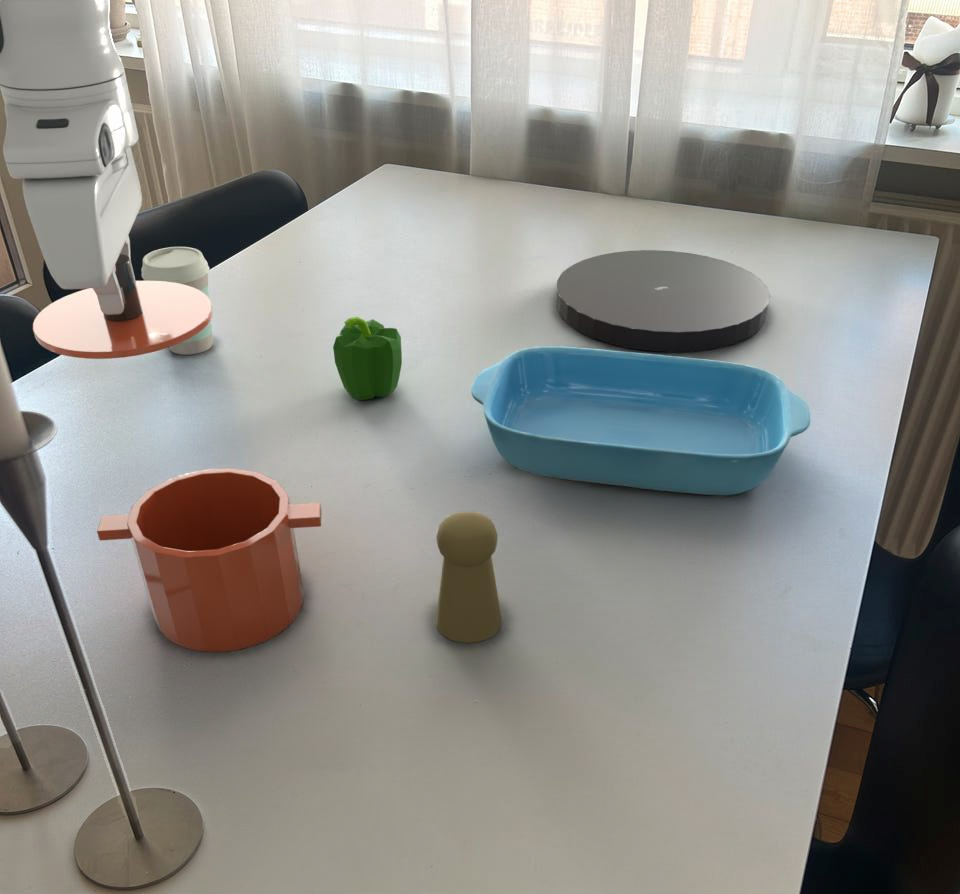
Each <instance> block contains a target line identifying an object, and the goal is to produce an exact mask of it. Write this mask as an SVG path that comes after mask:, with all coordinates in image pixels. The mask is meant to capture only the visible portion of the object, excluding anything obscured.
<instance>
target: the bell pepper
mask: <svg viewBox="0 0 960 894" xmlns="http://www.w3.org/2000/svg"><path fill="white" fill-rule="evenodd" d="M332 349H333V357H334V363H335V366H336V370H337V373H338V375H339V378H340V380H341V383H342V386H343V388H344V390H345V391H346V392H347V394H349V395H350V396H351V397H352V398H353V399H356V400H359V401H365V400H366V401H367V400H371V399H373V398H374V397H380V398H382V397H388V396H390V395H391V394H392V393H394V391H396V389H397V387H398V384H399V379H400V377H401V369H402V363H403V355H402V354H403V353H402V352H403V351H402V336H401V334H400V333H399V331H398V329H397V328H395V327H385V326H384V324H382V323H381V322H379V321H377V320H375V319H373V318H372V319H369V320H367V321H366V320H365V319H363V318H361V317H358V316H354V317H349V318H348V319H347V320H345V321H344V325H343V327H342V329H341V330H340V332H339V334H338V335H336V337H335V340H334V343H333V347H332Z"/></svg>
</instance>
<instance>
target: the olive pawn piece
mask: <svg viewBox="0 0 960 894" xmlns="http://www.w3.org/2000/svg"><path fill="white" fill-rule="evenodd" d="M498 536H499V535H498V531H497V527H496V525H495V524H494V522H493V521H492V519H490V518H489V517H488V516H487V515H485V514H483V513H481V512H476V511H471V510H470V511H467V510H465V511H458V512H454V513H452V514H450V515H448V516H446V517H445V518H444V519H443V520H442V521H441V522H440V524H439V526H438V529H437V534H436V544H437V547H438V551H439V553H440V554H441V556H442V557H443V559H442V566H441V567H442V568H441V574H440V585H439V590H438V600H437V609H436V616H435V625H436V629H437V631H438V632H440V634H441V635H442V636H444V637H445V638H447V639H448V640H451V641H454V642H456V643H463V644H464V643H465V644H471V643H472V644H473V643H480V642H483V641H485V640H489V639H490V638H492V637H493V636H494V635H496V634H498V632H499V630H500V629H501V627H502V621H503V620H502V619H503V618H502V614H501V613H502V612H501V606H500V601H499V593H498V589H497V582H496V575H495V570H494V563H493V562H494V561H493V558H492V557H493V555H494V553H495V552H496V549H497V546H498V538H499V537H498Z"/></svg>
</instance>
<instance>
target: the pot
mask: <svg viewBox="0 0 960 894" xmlns="http://www.w3.org/2000/svg"><path fill="white" fill-rule="evenodd" d="M321 504H322V503H321V502H306V503H305V502H304V503H290V497H289V495H288V493H287V492H286V491H285V490H284V488H283V487H282V486H281V484H280V483H279V482H278V481H277V480H275V479H273V478H271V477H269V476H267V475H265V474H263V473H262V472H258V471H252V470H245V469H240V468H235V467H232V468H231V467H225V468H210V469H209V468H207V469H199V470H195V471H191V472H189V473H184V474H181V475H180V474H179V475H175V476H173V477H170V478H169V479H167V480H164V481H162V482H161V483H159V484H157V485H155V486H153V487H151V488H149V489H148V490H146V491H145V492H144V493H143V494H142V495H141V496H140V498H138V499H137V500H136V501H135V502H134V504H132V506H131V508H130V511H129V513H125V514H109V515H101V518H100V520H99V524H98V527H97V530H96V534H97V537H98V540H99V541H101V542H102V541H115V540H129V539H130V540H131V544H132V548H133V550H134V551H133V552H134V554H135V558H136V561H137V565H138V568H139V572H140V575H141V578H142V582H143V585H144V589H145V592H146V596H147V600H148V602H149V607H150V610H151V613H152V615H153V618H154V620H155V622H156V626H157V627H158V630H159V631H160V633H161V634H162V635H163V636H164V637H165V638H167V639H168V640H169V641H171V642H173V643H174V644H176V645H177V646H180V647H183V648H185V649H189V650H193V651H199V652H208V653H209V652H210V653H221V652H223V653H224V652H233V651H238V650H242V649H247V648H251V647H253V646H256V645H259V644H261V643H264V642H267V641H268V640H270V639H272V638H274V637H275V636H277V635H279V634H280V633H282V632H283V631H284V630H285V629H286V628H288V627H289V626H290V625H291V624H292V622H294V620H295V619H296V618H297V616H298V614H299V613H300V611H301V609H302V605H303V601H304V593H303V592H304V591H303V589H304V587H303V586H304V585H303V579H302V572H301V567H300V560H299V559H300V558H299V553H298V547H297V540H296V535H295V534H296V533H295V529H301V528H302V529H303V528H315V527H318V528H319V527H321V526H322V505H321Z"/></svg>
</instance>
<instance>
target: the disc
mask: <svg viewBox="0 0 960 894" xmlns="http://www.w3.org/2000/svg"><path fill="white" fill-rule="evenodd" d="M555 288H556V309H557V312H558V314H559V316H560V318H562V319H563V320H564V322H565V323H566V324H567V325H569V326H570V327H572V328H573V329H574V330H576V331H577V332H580V333H582V334H584V335H586V336H588V337H590V338H593V339H595V340H599V341H602V342H605V343H608V344H610V345H615V346H620V347H624V348H628V349H636V350H642V351H643V350H644V351H649V352H650V351H651V352H667V353H668V352H669V353H679V352H698V351H705V350H706V351H707V350H714V349H719V348H722V347H726V346H730V345H734V344H737V343H739V342H742V341H744V340H747V339H748V338H750V337H752V336H753V335H755V334H756V333H757V332H759V331H760V329H761V328H762V327H763V325H764V324H765V323H766V317H767V312H768V307H769V303H770V298H771V294H770V290H769V288H768V286H767V285H766V284H765V283H764V281H763V280H762V279H761V278H759V277H758V276H757V275H755V274H753V273H752V272H751V271H749V270H747V269H745V268H743V267H741V266H739V265H736V264H734V263H732V262H728V261H726V260H724V259H723V260H722V259H719V258H715V257H711V256H707V255H702V254H697V253H690V252H685V251H674V250H656V249H655V250H654V249H642V250H641V249H640V250H625V251H624V250H623V251H615V252H609V253H605V254H600V255H599V254H598V255H595V256H592V257H589V258H585V259H582V260H579V261H578V262H576V263H573V264H572V265H570V266H568V267H567V268H566V269H565V270H563V271H562V272H561V273H560V275H559V277H558V278H557V280H556V287H555Z"/></svg>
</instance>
